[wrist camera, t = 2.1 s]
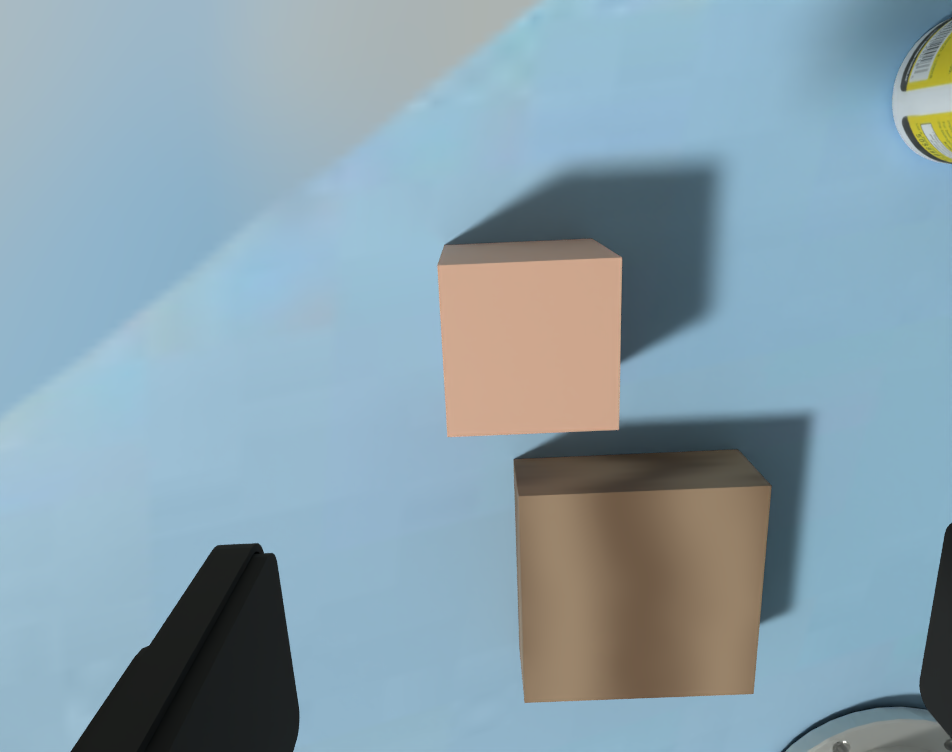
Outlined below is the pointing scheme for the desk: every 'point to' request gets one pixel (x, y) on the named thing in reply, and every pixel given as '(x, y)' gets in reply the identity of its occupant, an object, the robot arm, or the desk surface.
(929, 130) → the supplement bottle
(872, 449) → the desk surface
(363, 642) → the desk surface
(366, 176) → the desk surface
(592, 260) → the terracotta cube
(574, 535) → the walnut block
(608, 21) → the desk surface
